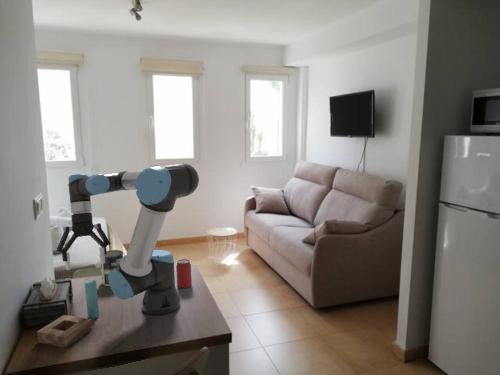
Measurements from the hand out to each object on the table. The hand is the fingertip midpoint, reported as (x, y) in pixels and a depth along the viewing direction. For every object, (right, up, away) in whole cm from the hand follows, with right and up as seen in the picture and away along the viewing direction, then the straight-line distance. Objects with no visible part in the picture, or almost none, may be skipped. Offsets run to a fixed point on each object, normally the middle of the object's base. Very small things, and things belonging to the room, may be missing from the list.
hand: (86, 266), depth 147 cm
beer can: (+35, -14, +24) cm, 44 cm away
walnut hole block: (0, -21, -16) cm, 26 cm away
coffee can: (0, -14, +30) cm, 33 cm away
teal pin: (+4, -19, -2) cm, 19 cm away
